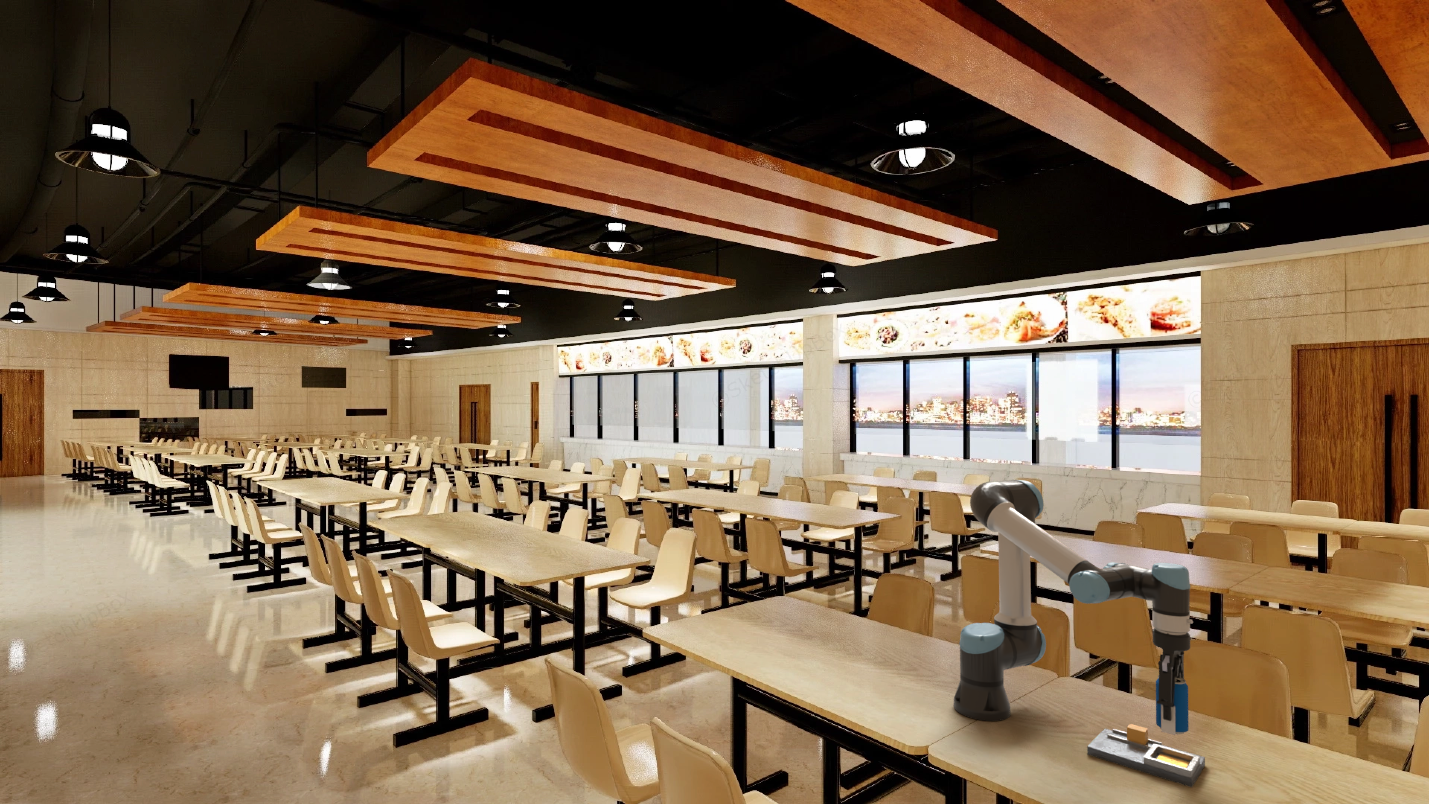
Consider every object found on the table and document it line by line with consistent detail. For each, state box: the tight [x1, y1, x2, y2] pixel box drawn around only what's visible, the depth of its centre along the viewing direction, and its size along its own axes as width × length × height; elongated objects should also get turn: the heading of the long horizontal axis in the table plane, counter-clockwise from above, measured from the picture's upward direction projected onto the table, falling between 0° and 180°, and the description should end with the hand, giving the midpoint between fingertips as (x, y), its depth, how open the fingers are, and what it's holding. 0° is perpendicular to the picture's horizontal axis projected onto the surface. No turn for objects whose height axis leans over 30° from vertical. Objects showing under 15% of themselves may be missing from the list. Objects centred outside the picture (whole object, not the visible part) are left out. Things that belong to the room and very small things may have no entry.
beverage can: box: [1155, 675, 1189, 735], centre depth 169 cm, size 6×6×12 cm
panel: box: [1086, 728, 1206, 788], centre depth 175 cm, size 22×14×4 cm, turn 46°
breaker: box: [1126, 723, 1149, 745], centre depth 180 cm, size 4×3×3 cm
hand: (1172, 727), depth 169 cm, fingers closed on beverage can, 6 cm apart
